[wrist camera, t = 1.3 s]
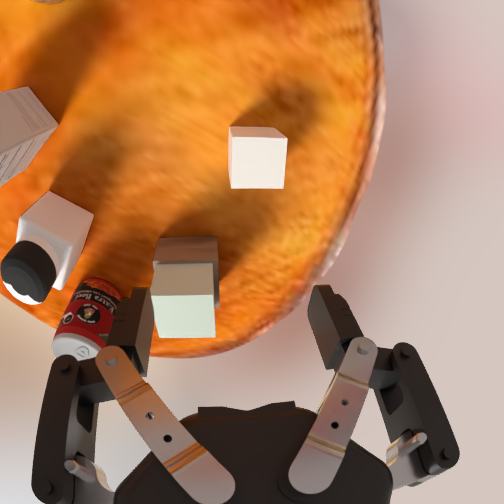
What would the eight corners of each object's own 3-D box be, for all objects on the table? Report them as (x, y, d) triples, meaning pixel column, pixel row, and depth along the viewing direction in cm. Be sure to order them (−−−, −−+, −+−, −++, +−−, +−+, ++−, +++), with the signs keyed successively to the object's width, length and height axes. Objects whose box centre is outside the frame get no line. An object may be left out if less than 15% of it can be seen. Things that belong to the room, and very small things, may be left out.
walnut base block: (159, 236, 33) (152, 260, 29) (217, 235, 34) (218, 259, 30) (166, 282, 37) (161, 309, 33) (218, 281, 38) (219, 307, 34)
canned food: (128, 286, 37) (110, 350, 28) (119, 323, 40) (105, 382, 31) (78, 268, 34) (49, 327, 25) (74, 307, 38) (52, 363, 28)
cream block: (229, 126, 27) (232, 136, 22) (273, 127, 28) (287, 138, 23) (228, 168, 30) (231, 188, 25) (271, 168, 30) (283, 188, 25)
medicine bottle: (48, 189, 27) (-7, 241, 18) (95, 213, 30) (53, 276, 20) (37, 234, 30) (-7, 292, 20) (80, 257, 33) (46, 323, 23)
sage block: (156, 264, 30) (148, 295, 25) (212, 263, 30) (213, 294, 26) (164, 305, 33) (159, 337, 29) (214, 304, 34) (215, 337, 29)
